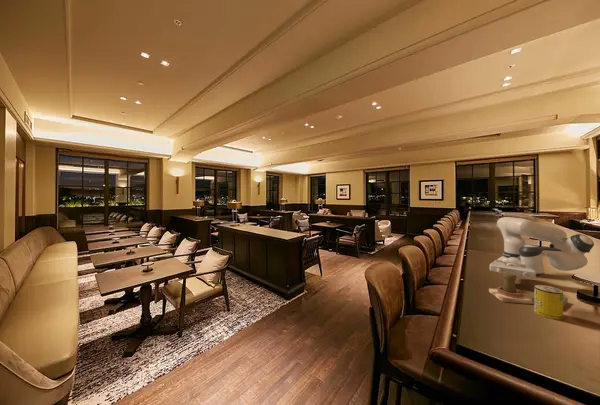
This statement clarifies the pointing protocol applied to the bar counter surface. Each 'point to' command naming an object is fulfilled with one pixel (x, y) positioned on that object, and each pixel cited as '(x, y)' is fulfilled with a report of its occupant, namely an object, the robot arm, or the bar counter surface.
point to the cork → (509, 283)
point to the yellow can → (548, 302)
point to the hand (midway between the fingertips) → (510, 273)
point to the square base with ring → (510, 296)
